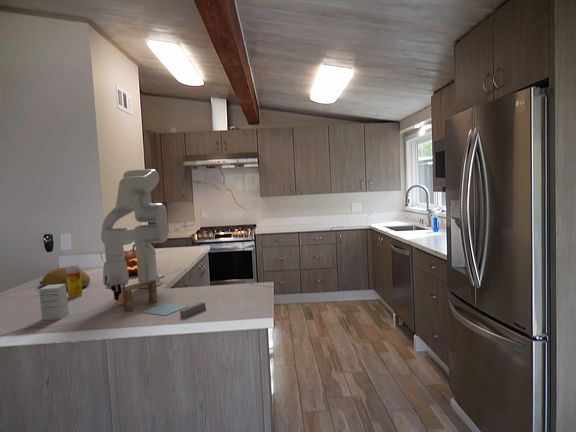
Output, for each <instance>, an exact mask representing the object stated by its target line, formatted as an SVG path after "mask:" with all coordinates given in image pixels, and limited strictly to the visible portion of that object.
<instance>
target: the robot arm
mask: <svg viewBox="0 0 576 432" xmlns="http://www.w3.org/2000/svg"><path fill="white" fill-rule="evenodd" d="M122 176H123V178H121V179H120V180H119V183H118V189H117V196H116V203H115V206H114V208H112V209H111V210H110V211H109V213H108V214H107V215H106V217H105V218H104V220H103V223H102V226H101V233H100V234H101V235H100V237H101V242H102V243H103V244H104V253H105V257H104V258H105V262H103V268H102V272H103V273H102V282H103V285H104V286H105V289H106V290H111V291H112V292H113V298H114V301H116V302H117V301H118V302H119V300H118V297H119V295H120V293H122V292H123V291H122V288H123V287H126V286H128V284H129V280H130V276H129V274H128V267H127V263H126V260H124V257H126V254H124V251H125V249H124V246H125V245H130V244H132V243H133V244H135V247H134V249H135V250H136V258H137V270H138V274H137V280H138V282H137V283H141V282H144V281H148V280H156V287H157V286H160V285H161V284H162V281H160V280H162V279H165V275H164V274H158V268H157V267H158V266H157V254H156V253H157V252H156V249H155V247H154V246H153V245H152V244H157V243H165V242H166V241H167V240H168V237H169V226H168V212H167V208H166V206H165V205H164V203H161V202H158V203H156V202H155V203H152V195H151V192H152V191H153V190H154V189H155V187H156V186H158V183H159V181H160V174H159V173H158V171H157V170H156V169H153V168H147V169H146V168H145V169H131V170H127V171H124V173H123V175H122ZM132 213H134V218H135V221H137V222H139V223H152V222H153V223H156V224H142V225H141V224H140V225H137V226H135V227H134V228H133V229H132V228H130V227H121V228H120V227H118V228H113V227H114V226H115V224H116V222H118V220H120V219H122V218H124V217H125V216H127V215H130V214H132ZM139 289H148V285H147V286H143V287H140V288H139Z"/></svg>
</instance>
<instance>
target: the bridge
mask: <svg viewBox="0 0 576 432" xmlns="http://www.w3.org/2000/svg"><path fill="white" fill-rule="evenodd" d="M147 285H148V288H147V294H148V296H147V297H148V303H150V304H155V303H158V292H157V286H156V280H148V281H144V282H141V283H138V282H137V283H133V284H130V285H126V286H124V287H123V288H122V292H123V303H124V305H123V311H124V312H128V313H129V312H132V311H134V303H133V301H132V294H133V293H132V291H133V290H137V289H141V288H140V287H143V286H147Z"/></svg>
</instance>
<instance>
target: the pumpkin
mask: <svg viewBox="0 0 576 432" xmlns="http://www.w3.org/2000/svg"><path fill="white" fill-rule="evenodd" d="M124 254H126V257H124V260H126V263H127V267H128V274H129V275H131V276H132V275H138V270H137V258H136V248H135V243H133V244H132V249H129V250H124Z"/></svg>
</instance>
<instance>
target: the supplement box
mask: <svg viewBox="0 0 576 432" xmlns="http://www.w3.org/2000/svg"><path fill="white" fill-rule="evenodd" d="M38 292H39V293H38V295H39V302H40V311H41V312H40V313H41V321H51V320H52V321H54V320H61V319H63V318H64V317H66V316H68V314H69V303H68V290H67V289H66V284H55V285H47V286H43V287H41V288H39V289H38Z"/></svg>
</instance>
